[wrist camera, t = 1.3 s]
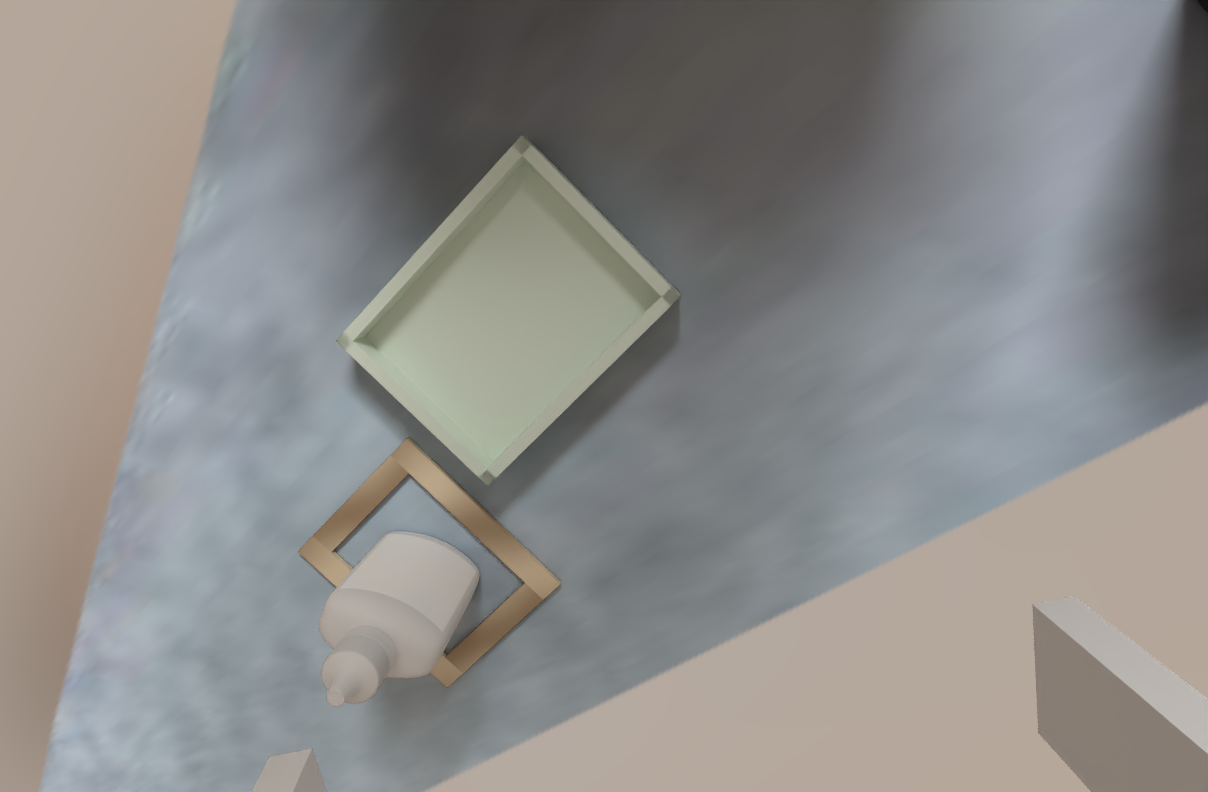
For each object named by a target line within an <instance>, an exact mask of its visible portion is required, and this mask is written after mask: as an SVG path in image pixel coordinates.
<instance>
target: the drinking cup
mask: <svg viewBox="0 0 1208 792" xmlns="http://www.w3.org/2000/svg"><path fill="white" fill-rule="evenodd" d="M1198 2H1199V3H1200V4H1201V6H1202V7H1203V8H1204V9H1205V10H1206V11H1207V12H1208V0H1198Z"/></svg>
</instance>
